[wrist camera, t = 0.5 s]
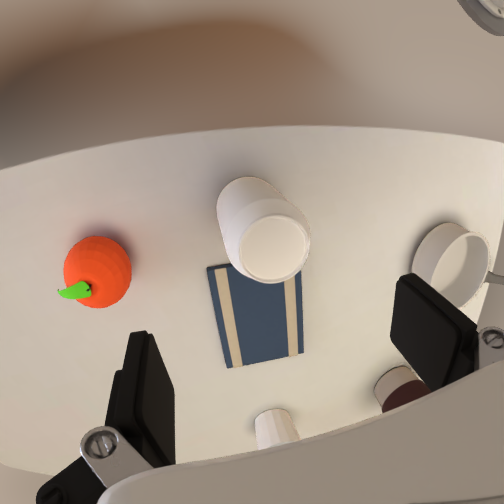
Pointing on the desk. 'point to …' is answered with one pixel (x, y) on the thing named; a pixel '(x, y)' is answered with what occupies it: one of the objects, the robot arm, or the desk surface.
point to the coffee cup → (399, 388)
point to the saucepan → (455, 263)
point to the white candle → (275, 429)
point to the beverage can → (262, 231)
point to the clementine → (96, 272)
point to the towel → (256, 316)
